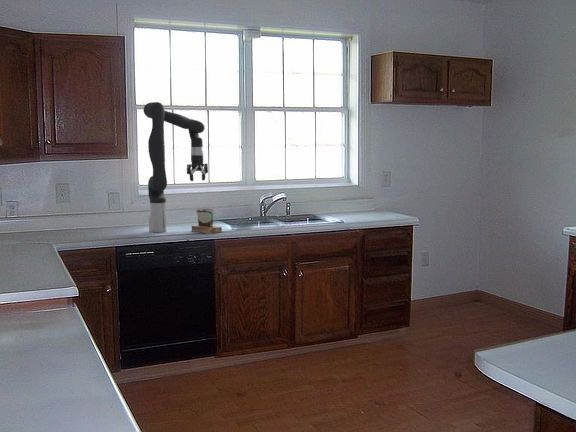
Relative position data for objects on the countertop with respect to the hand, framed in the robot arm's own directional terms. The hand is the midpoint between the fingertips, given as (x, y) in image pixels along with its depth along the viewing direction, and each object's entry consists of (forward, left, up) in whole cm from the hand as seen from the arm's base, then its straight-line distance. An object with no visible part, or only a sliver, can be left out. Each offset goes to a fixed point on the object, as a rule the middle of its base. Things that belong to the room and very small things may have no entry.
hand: (197, 180), depth 389 cm
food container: (-7, -19, -26) cm, 33 cm away
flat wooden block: (-8, -19, -29) cm, 35 cm away
